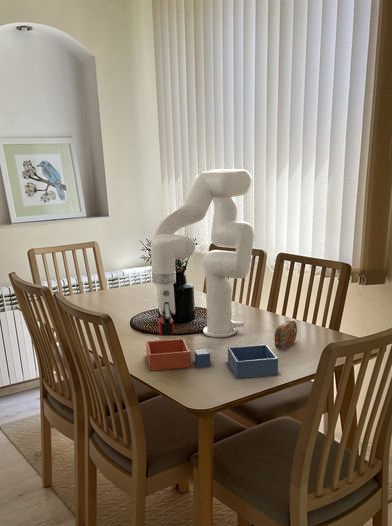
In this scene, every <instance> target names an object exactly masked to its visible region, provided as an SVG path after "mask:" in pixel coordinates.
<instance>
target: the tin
mask: <svg viewBox="0 0 392 526" xmlns="http://www.w3.org/2000/svg"><path fill="white" fill-rule="evenodd" d="M297 334H298V326H297V322H296V321H295V320H286V321H284V322H282V323H281V324H280V325H278V327H276V329H275V331H274V347H275V348H276V349H277V350H283V351H285V350H287V349H288V348H290V346H292V345H293V344H294V343H295V342H296V340H297Z"/></svg>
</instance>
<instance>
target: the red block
mask: <svg viewBox="0 0 392 526" xmlns="http://www.w3.org/2000/svg"><path fill="white" fill-rule="evenodd" d="M157 321H158V333H159V336H163V335H162V323H163V322H162V318H161V317H159V318H157ZM171 323H172V335H175V329H174V328H175V327H174V320H173V317H172V316H171ZM172 335H171V336H172Z"/></svg>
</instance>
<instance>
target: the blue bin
mask: <svg viewBox="0 0 392 526" xmlns="http://www.w3.org/2000/svg"><path fill="white" fill-rule="evenodd" d="M227 364H228V366H229V368H230V370H231V371H232V373H233V374H234V376H235V378H236V379H243V378H244V379H245V378H256V377H257V378H258V377H267V376H278V375H279V358H278V356H277V355H276V353H274V352H273V350H272V349H271V348H270V347H269V346H268V345H267V344H255V345H253V344H251V345H240V346H229V347H227Z"/></svg>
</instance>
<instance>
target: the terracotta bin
mask: <svg viewBox="0 0 392 526" xmlns="http://www.w3.org/2000/svg"><path fill="white" fill-rule="evenodd" d="M145 346H146V347H145V348H146V358H147V363H148V367H149V372H151V371H153V372H154V371H162V370H163V371H164V370H175V369H187V368H188V369H189V368H191V351H190V349H189V347H188V345H187V342H186V339H185V338H174V339H161V340H147V341H145Z"/></svg>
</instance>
